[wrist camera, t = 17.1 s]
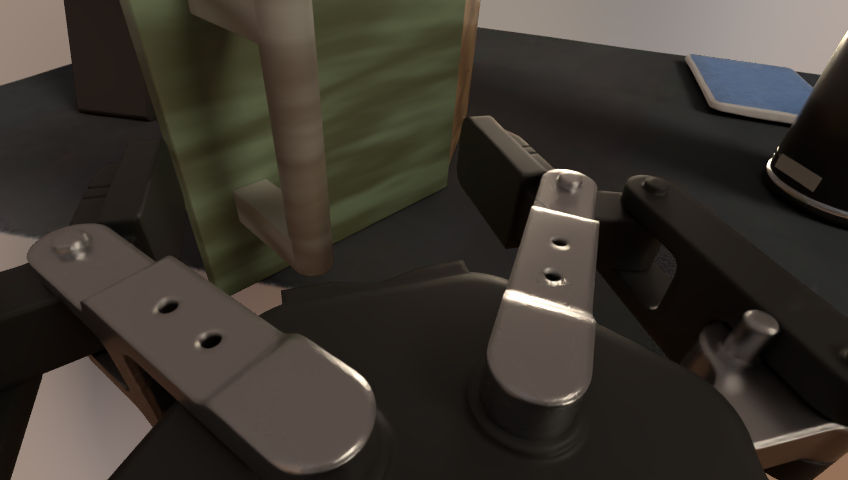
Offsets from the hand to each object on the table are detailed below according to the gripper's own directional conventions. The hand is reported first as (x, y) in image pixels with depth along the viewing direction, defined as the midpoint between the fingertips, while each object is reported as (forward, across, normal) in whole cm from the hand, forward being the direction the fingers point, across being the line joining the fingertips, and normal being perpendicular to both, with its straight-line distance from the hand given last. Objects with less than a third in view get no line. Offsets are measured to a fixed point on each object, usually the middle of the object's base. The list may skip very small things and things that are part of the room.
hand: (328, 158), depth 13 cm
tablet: (+25, -50, +10) cm, 57 cm away
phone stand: (+33, +12, +10) cm, 36 cm away
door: (+7, -3, +10) cm, 13 cm away
